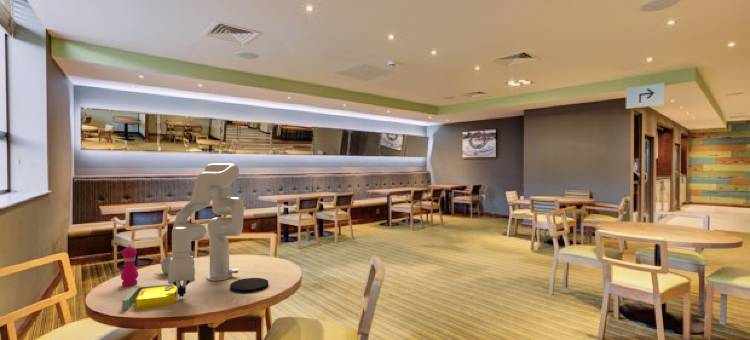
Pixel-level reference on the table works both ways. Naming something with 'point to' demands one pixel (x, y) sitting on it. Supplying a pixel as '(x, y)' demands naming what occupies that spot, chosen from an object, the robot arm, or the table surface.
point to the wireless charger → (249, 285)
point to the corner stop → (133, 294)
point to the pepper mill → (129, 267)
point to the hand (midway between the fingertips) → (181, 295)
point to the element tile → (156, 297)
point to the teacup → (165, 264)
